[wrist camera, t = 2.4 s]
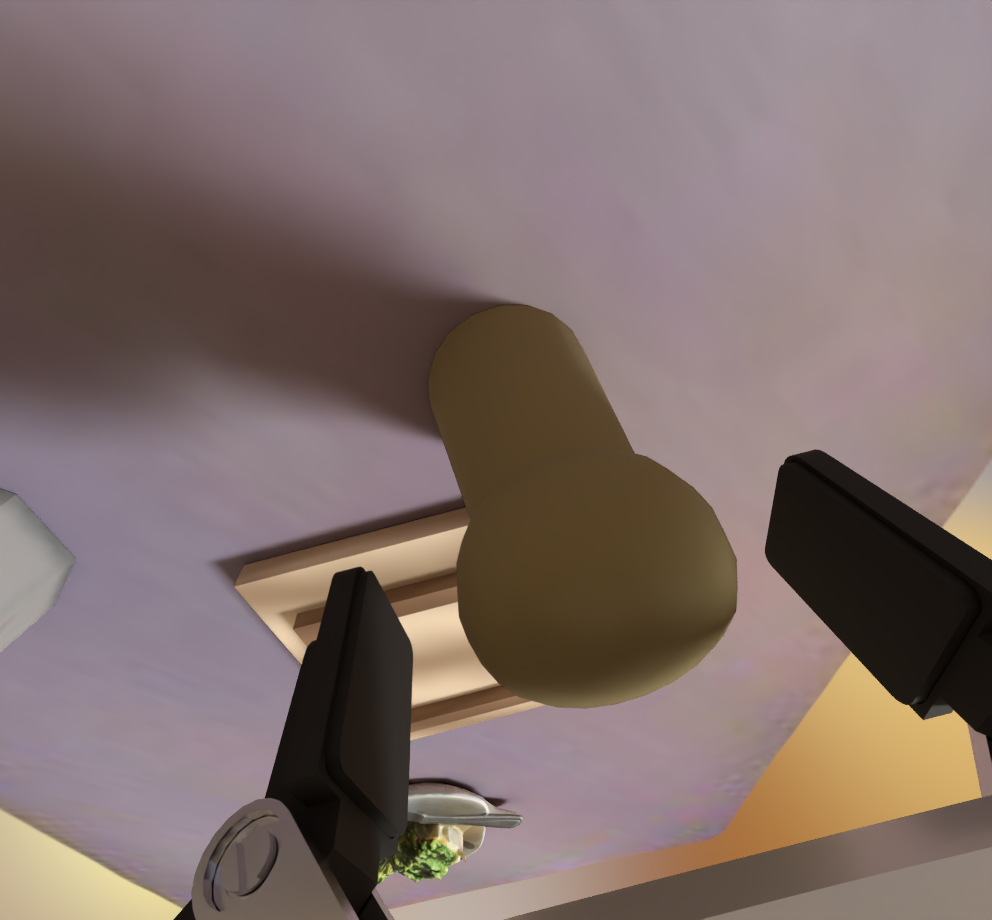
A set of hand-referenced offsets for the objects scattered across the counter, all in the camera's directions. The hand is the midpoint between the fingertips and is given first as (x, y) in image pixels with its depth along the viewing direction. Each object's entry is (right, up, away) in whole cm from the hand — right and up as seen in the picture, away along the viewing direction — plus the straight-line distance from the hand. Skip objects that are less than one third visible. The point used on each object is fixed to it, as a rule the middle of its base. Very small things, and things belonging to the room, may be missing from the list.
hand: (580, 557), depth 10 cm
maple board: (-5, -7, +13) cm, 16 cm away
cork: (-1, +5, +6) cm, 8 cm away
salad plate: (-11, -28, +27) cm, 41 cm away
